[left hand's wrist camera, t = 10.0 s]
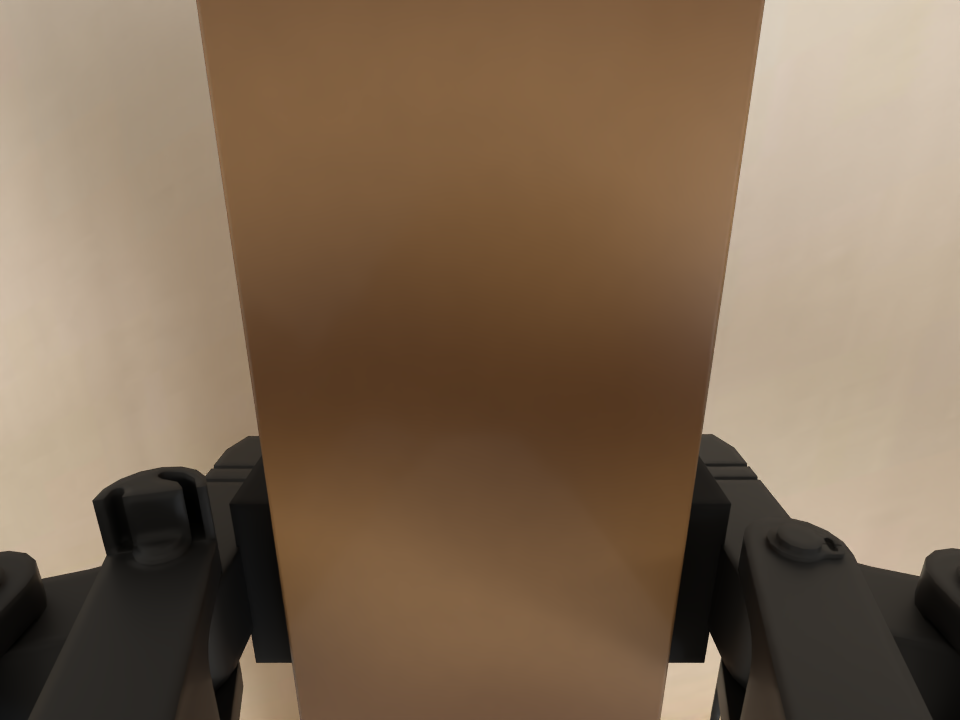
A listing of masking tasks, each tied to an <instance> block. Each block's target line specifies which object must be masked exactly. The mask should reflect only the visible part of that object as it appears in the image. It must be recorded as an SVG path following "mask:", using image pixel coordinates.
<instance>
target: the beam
mask: <svg viewBox="0 0 960 720" xmlns="http://www.w3.org/2000/svg"><path fill="white" fill-rule="evenodd" d="M196 2H197V9H198V16H199V23H200V30H201V36H202V43H203V50H204V57H205V64H206V71H207V78H208V85H209V92H210V99H211V106H212V113H213V119H214V126H215V133H216V140H217V147H218V154H219V161H220V168H221V175H222V182H223V189H224V195H225V202H226V209H227V216H228V223H229V230H230V237H231V244H232V251H233V258H234V265H235V271H236V278H237V285H238V292H239V299H240V306H241V313H242V320H243V327H244V334H245V341H246V347H247V354H248V361H249V368H250V375H251V382H252V389H253V396H254V403H255V410H256V417H257V423H258V430H259V437H260V444H261V451H262V458H263V465H264V472H265V479H266V486H267V493H268V500H269V506H270V513H271V520H272V527H273V534H274V541H275V548H276V555H277V562H278V569H279V576H280V582H281V589H282V596H283V603H284V610H285V617H286V624H287V631H288V638H289V645H290V652H291V658H292V665H293V672H294V679H295V686H296V693H297V700H298V707H299V714H300V720H660V717H661V710H662V703H663V697H664V690H665V683H666V676H667V669H668V662H669V655H670V649H671V642H672V635H673V628H674V621H675V614H676V607H677V600H678V594H679V587H680V580H681V573H682V566H683V559H684V552H685V546H686V539H687V532H688V525H689V518H690V511H691V504H692V497H693V491H694V484H695V477H696V470H697V463H698V456H699V449H700V443H701V436H702V429H703V422H704V415H705V408H706V401H707V394H708V388H709V381H710V374H711V367H712V360H713V353H714V346H715V340H716V333H717V326H718V319H719V312H720V305H721V298H722V292H723V285H724V278H725V271H726V264H727V257H728V250H729V243H730V237H731V230H732V223H733V216H734V209H735V202H736V195H737V189H738V182H739V175H740V168H741V161H742V154H743V147H744V140H745V134H746V127H747V120H748V113H749V106H750V99H751V92H752V86H753V79H754V72H755V65H756V58H757V51H758V44H759V37H760V31H761V24H762V17H763V10H764V3H765V0H196Z"/></svg>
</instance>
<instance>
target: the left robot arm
mask: <svg viewBox="0 0 960 720" xmlns="http://www.w3.org/2000/svg"><path fill="white" fill-rule="evenodd" d="M93 505H94V509H95V513H96V516H97V520H98V524H99V528H100V532H101V535H102V539H103V543H104V547H105V551H106V554H107V556H106V558H105V560H104V562H103V564H102V566H100V567H96V568H93V569H89V570H84V571H79V572H74V573H69V574H64V575H59V576H54V577H49V578H44V579H41V576H40V573H39V570H38V567H37V563H36V560H34V559H33V558H32V557H30V556H29V555H28V554H27V553H21V552H13V551H5V552H0V720H239V718H240V709H241V701H242V693H243V680H242V673H241V668H240V662H239V659H240V657H241V655H242V653H243V651H244V648H245V646H246V644H247V642H248V640H249V637H250V635H252V641H253V647H254V653H255V658H256V663H292V658H291V652H290V645H289V638H288V631H287V624H286V617H285V610H284V603H283V596H282V589H281V582H280V576H279V569H278V562H277V555H276V548H275V541H274V534H273V527H272V520H271V513H270V506H269V500H268V493H267V486H266V479H265V472H264V465H263V458H262V451H261V444H260V437H259V436H248V437H246V438H245V439H243V440H241V441H240V442H238V443H237V444H235V445H233V446H232V447H230V448H228V449H227V450H226V451H225V452H224V453H223V455H222V456H221V457H220V459H219V460H218V461H217V462H216V464H215V465H214V469H211V470H210V471H209V472H208V474H207V475H206V476H204V475H203V474H201V473H200V472H199V471H197V470H195V469H190V468H185V467H161V468H156V469H151V470H146V471H141V472H138V473H136V474H133V475H130V476H128V477H125V478H122V479H120V480H118V481H116V482H115V483H113V484H111V485H110V486H108V487H106V488H105V489H103V490H102V491H101V492H100V493H99V494H98V495H97V496H96V498H95V499H94V500H93ZM709 632H710V634H711V636H712V638H713V640H714V642H715V644H716V647H717V649H718V651H719V653H720V655H721V662H720V668H719V673H718V679H717V684H716V689H715V695H714V700H713V706H712V711H711V718H710V720H719V718H720V716H721V720H960V549H954V548H950V549H943V550H936V551H934V552H933V553H931V554H930V555H929V556H927V557H926V559H925V562H924V565H923V568H922V572H921V575H920V576H915V575H910V574H905V573H900V572H895V571H890V570H885V569H880V568H875V567H871V566H867V565H863V564H859V563H857V561H856V559H855V557H854V555H853V554H852V552H851V551H850V550H849V549H848V547H847V546H846V545H845V543H844V542H843V541H841V540H840V539H838V538H837V537H835V536H834V535H833V534H831V533H830V532H828V531H826V530H824V529H822V528H820V527H817V526H815V525H813V524H810V523H808V522H804V521H800V520H796V519H791V518H790V517H789V515H788V514H787V513H786V512H785V510H784V509H783V508H782V507H781V505H780V504H779V503H778V502H777V500H776V499H775V498H774V497H773V495H772V494H771V493H770V492H769V490H768V489H767V488H766V487H765V485H764V484H763V483H762V482H761V480H758V479H757V475H756V474H755V473H754V472H753V470H752V469H751V468H750V467H747V463H746V462H745V460H744V459H743V458H742V457H741V456H740V454H739V453H738V452H737V451H736V449H735V448H734V447H732V446H731V445H729V444H727V443H726V442H724V441H723V440H721V439H719V438H718V437H716V436H714V435H713V434H702V436H701V443H700V449H699V456H698V463H697V470H696V477H695V484H694V491H693V497H692V504H691V511H690V518H689V525H688V532H687V539H686V546H685V552H684V559H683V566H682V573H681V580H680V587H679V594H678V600H677V607H676V614H675V621H674V628H673V635H672V642H671V649H670V655H669V662H668V663H704V661H705V655H706V649H707V643H708V637H709Z"/></svg>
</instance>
